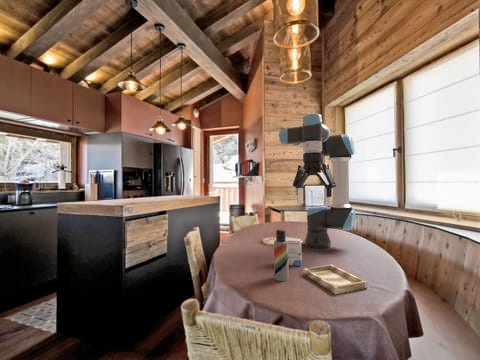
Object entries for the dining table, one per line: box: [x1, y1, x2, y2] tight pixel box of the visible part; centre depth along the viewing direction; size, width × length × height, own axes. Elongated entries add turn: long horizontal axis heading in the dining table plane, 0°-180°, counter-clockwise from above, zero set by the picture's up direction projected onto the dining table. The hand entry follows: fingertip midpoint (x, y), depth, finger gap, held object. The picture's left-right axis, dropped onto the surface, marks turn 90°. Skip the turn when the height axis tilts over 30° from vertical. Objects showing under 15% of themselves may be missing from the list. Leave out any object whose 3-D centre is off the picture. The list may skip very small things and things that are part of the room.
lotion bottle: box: [273, 228, 290, 282], centre depth 103 cm, size 6×6×20 cm
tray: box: [303, 264, 368, 295], centre depth 100 cm, size 20×14×2 cm
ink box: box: [286, 237, 303, 267], centre depth 121 cm, size 9×5×12 cm, turn 71°
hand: (313, 204), depth 104 cm, fingers open, 13 cm apart
